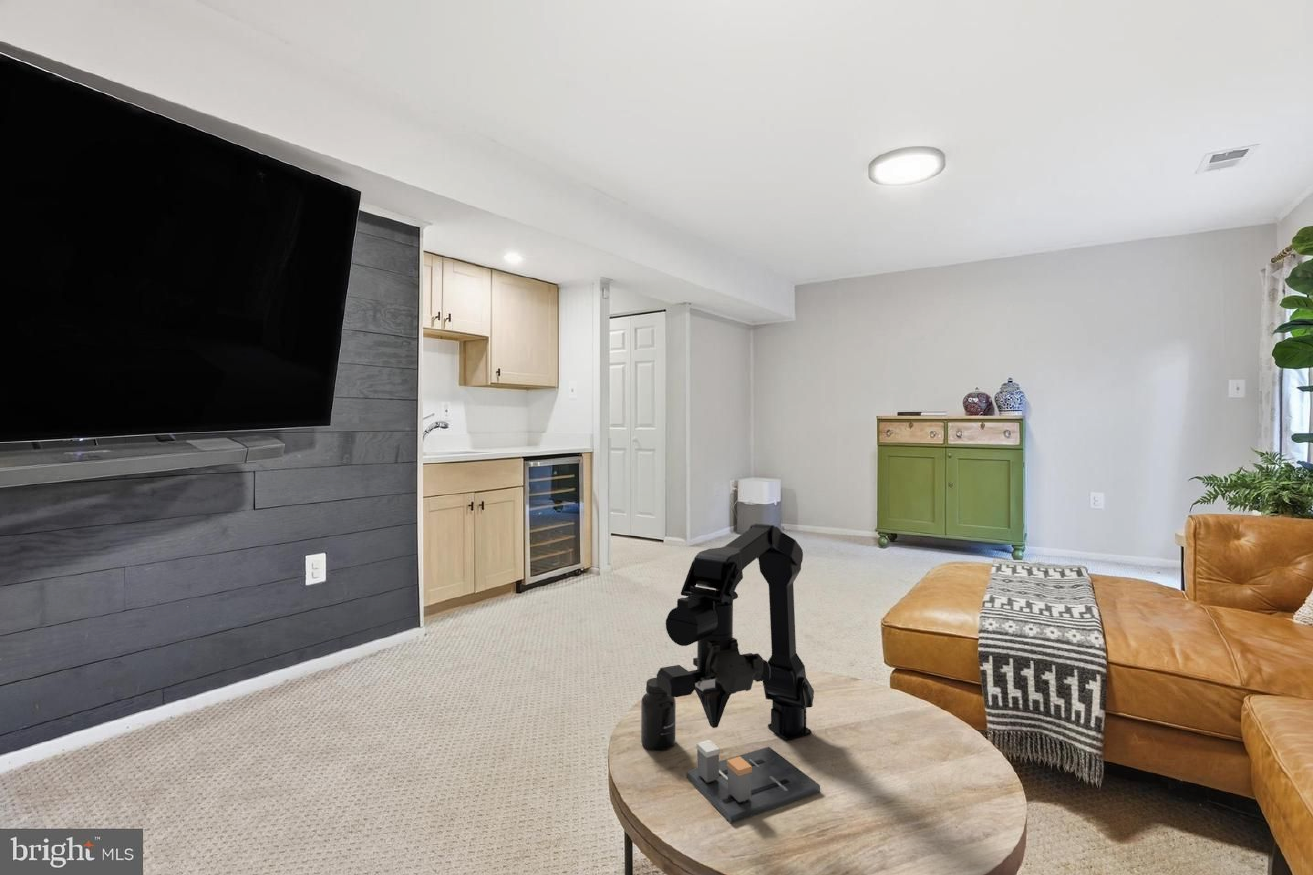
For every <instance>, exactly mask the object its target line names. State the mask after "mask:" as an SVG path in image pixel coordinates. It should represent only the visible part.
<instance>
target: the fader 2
mask: <svg viewBox="0 0 1313 875" xmlns="http://www.w3.org/2000/svg"><path fill="white" fill-rule="evenodd" d="M738 756H739V755H738ZM735 757H736V756H735ZM728 759H729V758H728ZM727 766H728V792H729V793H730V794H731V795H732V796H733V797H734V798H735V799H736V800H737V801H738V802H742V801H745V800H747V799H750V798H751V772H752V766H751V765H750V764H749V763H747V762H746V761H745V760H744V759H743V758H741V757H740V756H739V757H736V758H733V759H729V760H727Z"/></svg>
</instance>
